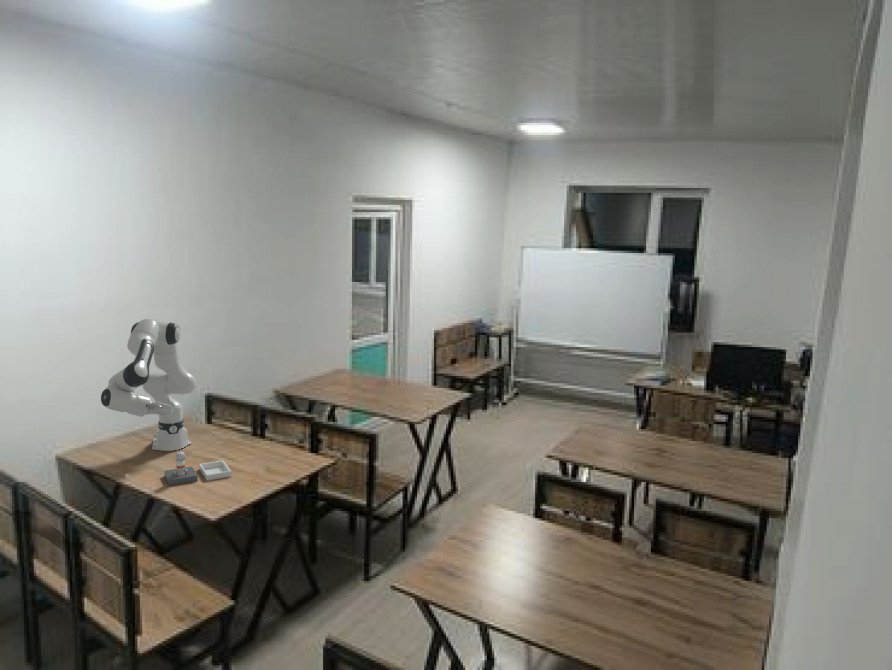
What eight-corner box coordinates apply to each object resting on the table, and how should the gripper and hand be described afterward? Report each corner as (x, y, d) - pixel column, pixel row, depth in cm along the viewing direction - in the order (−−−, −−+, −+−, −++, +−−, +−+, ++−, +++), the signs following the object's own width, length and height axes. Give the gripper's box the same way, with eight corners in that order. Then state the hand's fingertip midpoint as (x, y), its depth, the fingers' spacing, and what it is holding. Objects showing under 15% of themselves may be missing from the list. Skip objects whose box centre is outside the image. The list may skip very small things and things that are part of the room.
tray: (199, 471, 307) (199, 464, 306) (223, 467, 312) (223, 460, 312) (206, 482, 294) (206, 475, 294) (231, 478, 300) (231, 471, 299)
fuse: (175, 477, 296) (174, 452, 294) (184, 476, 298) (183, 451, 296) (177, 480, 293) (176, 455, 290) (186, 479, 295) (185, 453, 292)
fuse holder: (164, 478, 297) (164, 468, 296) (192, 473, 304) (191, 463, 303) (169, 487, 287) (168, 477, 286) (197, 482, 294) (197, 473, 293)
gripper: (156, 397, 274) (184, 405, 285) (129, 399, 286) (158, 406, 296) (152, 412, 272) (181, 419, 283) (126, 413, 284) (154, 420, 294)
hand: (169, 412), depth 290 cm, fingers open, 8 cm apart
